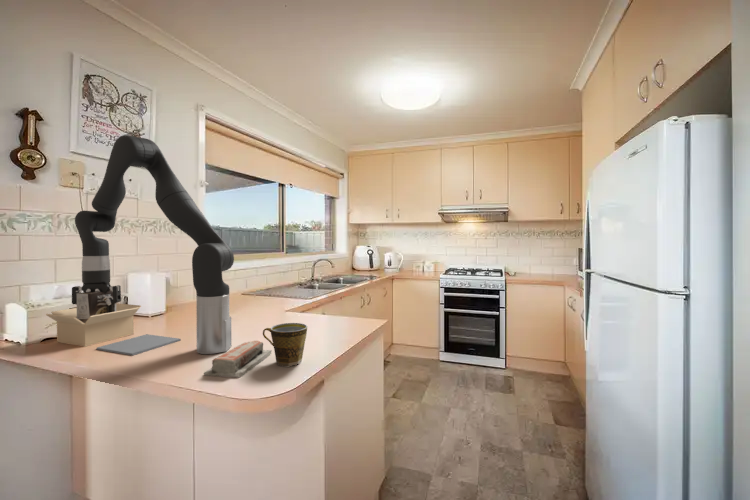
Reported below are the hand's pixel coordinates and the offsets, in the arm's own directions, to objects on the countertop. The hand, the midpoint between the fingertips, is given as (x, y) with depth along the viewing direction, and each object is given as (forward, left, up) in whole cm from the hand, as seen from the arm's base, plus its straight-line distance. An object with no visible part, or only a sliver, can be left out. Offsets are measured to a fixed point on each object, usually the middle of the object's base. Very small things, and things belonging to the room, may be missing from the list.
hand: (97, 315), depth 115 cm
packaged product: (-55, +32, -8) cm, 65 cm away
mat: (-19, +10, -8) cm, 23 cm away
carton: (0, 0, -8) cm, 8 cm away
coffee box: (0, 0, -8) cm, 8 cm away
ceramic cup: (-67, +33, -8) cm, 75 cm away
